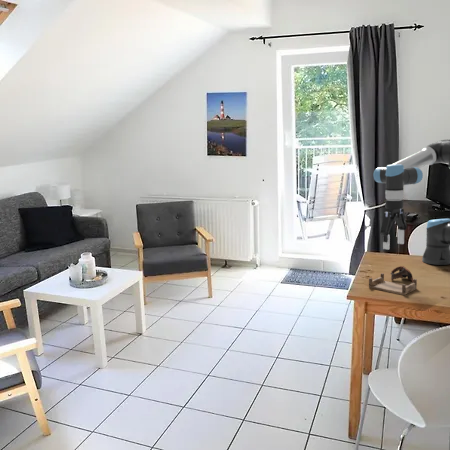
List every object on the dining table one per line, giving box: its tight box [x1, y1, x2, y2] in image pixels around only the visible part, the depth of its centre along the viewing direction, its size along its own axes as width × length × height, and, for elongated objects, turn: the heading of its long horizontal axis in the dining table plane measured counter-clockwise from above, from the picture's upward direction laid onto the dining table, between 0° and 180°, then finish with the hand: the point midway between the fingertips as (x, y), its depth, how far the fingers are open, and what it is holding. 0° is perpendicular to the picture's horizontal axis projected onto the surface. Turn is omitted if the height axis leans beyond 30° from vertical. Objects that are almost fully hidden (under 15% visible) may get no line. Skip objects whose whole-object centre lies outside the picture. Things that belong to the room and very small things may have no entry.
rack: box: [368, 273, 418, 296], centre depth 222 cm, size 12×17×4 cm
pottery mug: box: [390, 265, 414, 284], centre depth 233 cm, size 12×9×8 cm
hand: (393, 246), depth 220 cm, fingers open, 13 cm apart
